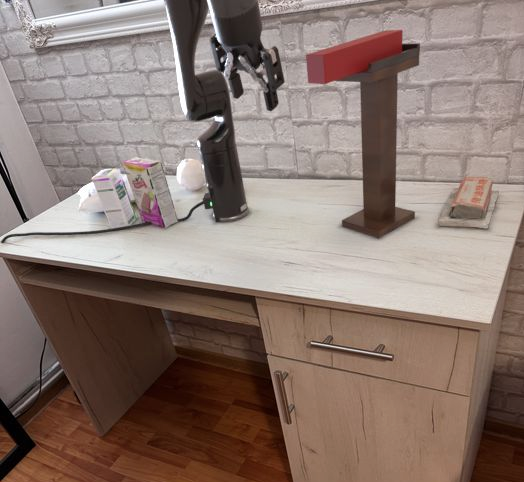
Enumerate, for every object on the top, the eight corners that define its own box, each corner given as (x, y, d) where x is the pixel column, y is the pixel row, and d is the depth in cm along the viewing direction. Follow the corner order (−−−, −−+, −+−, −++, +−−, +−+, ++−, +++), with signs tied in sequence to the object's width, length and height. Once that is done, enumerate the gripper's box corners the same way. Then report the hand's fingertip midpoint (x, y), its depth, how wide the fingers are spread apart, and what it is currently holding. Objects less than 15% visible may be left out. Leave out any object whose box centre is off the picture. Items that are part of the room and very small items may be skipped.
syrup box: (129, 227, 130) (110, 174, 121) (110, 229, 132) (90, 176, 123) (137, 218, 135) (119, 167, 126) (118, 220, 136) (100, 169, 127)
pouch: (135, 163, 150) (71, 177, 147) (143, 182, 136) (72, 198, 132) (142, 188, 155) (80, 202, 152) (150, 209, 141) (82, 225, 137)
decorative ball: (172, 201, 148) (167, 160, 144) (205, 199, 151) (201, 159, 148) (178, 200, 140) (173, 157, 136) (212, 198, 143) (208, 156, 140)
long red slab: (325, 84, 82) (323, 54, 79) (308, 83, 84) (305, 54, 82) (402, 57, 90) (402, 29, 87) (383, 57, 93) (384, 30, 90)
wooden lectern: (375, 240, 102) (373, 59, 81) (338, 228, 110) (328, 59, 89) (414, 218, 108) (422, 42, 87) (377, 208, 115) (376, 44, 94)
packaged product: (454, 174, 111) (501, 174, 107) (452, 194, 114) (498, 195, 110) (439, 205, 100) (491, 207, 95) (437, 227, 103) (487, 230, 98)
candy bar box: (140, 222, 132) (121, 162, 122) (155, 215, 135) (136, 155, 125) (164, 229, 125) (145, 166, 115) (179, 221, 128) (162, 159, 118)
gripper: (283, -3, 70) (298, 100, 84) (218, -18, 77) (241, 81, 90) (249, 24, 68) (270, 125, 82) (185, 7, 75) (214, 103, 88)
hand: (255, 102), depth 86 cm, fingers open, 8 cm apart
